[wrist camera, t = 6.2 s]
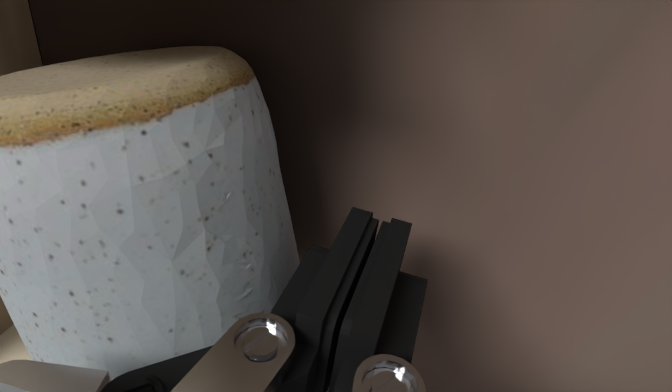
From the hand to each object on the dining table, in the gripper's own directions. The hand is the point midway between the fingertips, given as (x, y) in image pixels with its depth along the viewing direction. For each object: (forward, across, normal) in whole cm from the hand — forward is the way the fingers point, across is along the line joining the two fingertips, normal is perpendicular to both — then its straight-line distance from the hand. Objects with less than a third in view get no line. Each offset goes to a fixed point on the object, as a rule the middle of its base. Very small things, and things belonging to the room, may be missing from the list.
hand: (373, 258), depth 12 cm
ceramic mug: (+3, +7, 0) cm, 8 cm away
